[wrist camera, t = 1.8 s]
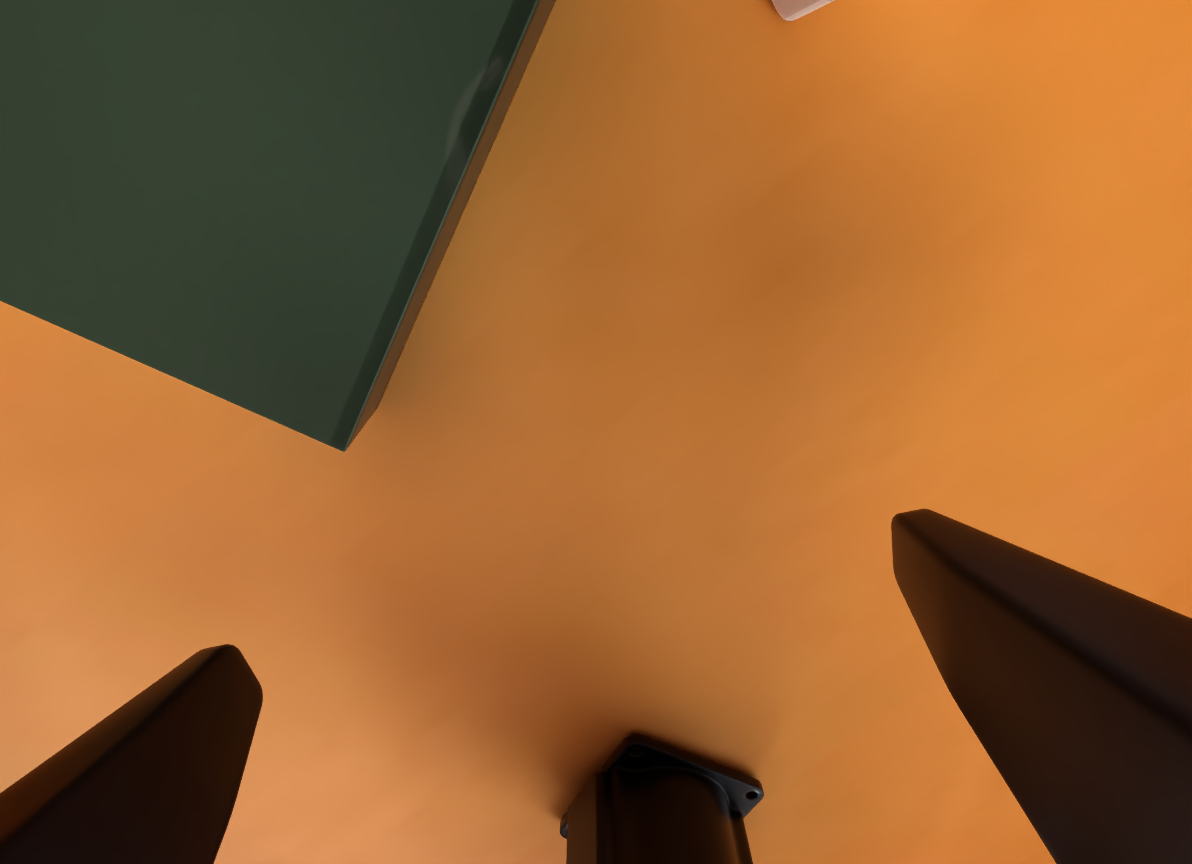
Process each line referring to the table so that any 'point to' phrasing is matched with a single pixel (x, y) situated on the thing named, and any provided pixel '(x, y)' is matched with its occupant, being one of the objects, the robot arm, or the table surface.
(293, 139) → the book
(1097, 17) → the table surface
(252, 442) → the table surface
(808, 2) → the medicine bottle
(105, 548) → the table surface
